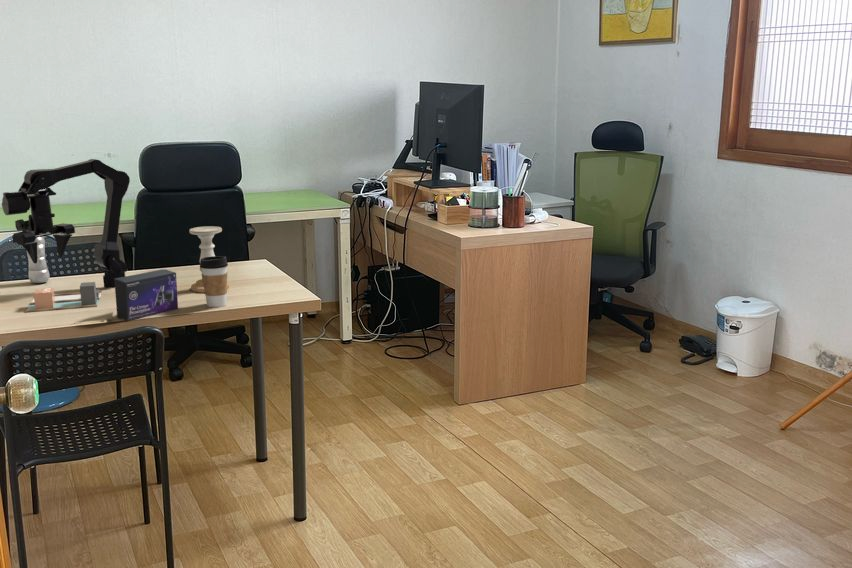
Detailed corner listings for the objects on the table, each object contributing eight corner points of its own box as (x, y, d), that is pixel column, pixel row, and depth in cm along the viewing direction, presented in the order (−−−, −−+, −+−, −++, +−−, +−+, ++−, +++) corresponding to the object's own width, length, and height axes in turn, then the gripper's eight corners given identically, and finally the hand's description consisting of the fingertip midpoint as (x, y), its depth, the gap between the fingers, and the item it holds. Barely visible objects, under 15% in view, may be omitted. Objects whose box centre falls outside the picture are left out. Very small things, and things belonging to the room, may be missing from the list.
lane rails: (102, 295, 270) (101, 290, 269) (97, 310, 252) (96, 305, 251) (35, 300, 264) (34, 295, 264) (25, 316, 246) (24, 311, 246)
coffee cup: (216, 309, 251) (213, 261, 247) (196, 306, 255) (193, 258, 252) (236, 303, 258) (233, 256, 254) (217, 299, 262) (213, 253, 259)
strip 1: (99, 302, 260) (97, 281, 258) (97, 308, 253) (95, 286, 252) (29, 308, 254) (26, 286, 253) (26, 314, 248) (23, 291, 246)
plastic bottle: (42, 285, 284) (35, 227, 279) (25, 284, 285) (17, 227, 280) (54, 280, 290) (47, 224, 285) (37, 280, 291) (30, 223, 286)
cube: (55, 303, 255) (53, 288, 254) (53, 308, 251) (51, 292, 249) (37, 305, 254) (35, 289, 253) (35, 309, 249) (33, 293, 248)
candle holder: (236, 287, 277) (232, 228, 272) (205, 295, 268) (200, 233, 263) (214, 282, 285) (210, 224, 280) (183, 289, 276) (178, 229, 271)
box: (128, 321, 240) (124, 281, 237) (116, 317, 244) (112, 278, 241) (179, 309, 252) (176, 271, 249) (167, 305, 257) (163, 268, 254)
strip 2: (101, 295, 268) (100, 288, 268) (100, 301, 262) (99, 293, 261) (34, 301, 263) (33, 293, 262) (30, 306, 256) (29, 298, 256)
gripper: (49, 204, 268) (55, 252, 272) (-4, 214, 252) (4, 264, 256) (73, 206, 263) (79, 255, 267) (21, 216, 247) (28, 267, 251)
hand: (48, 260), depth 261 cm, fingers open, 9 cm apart
